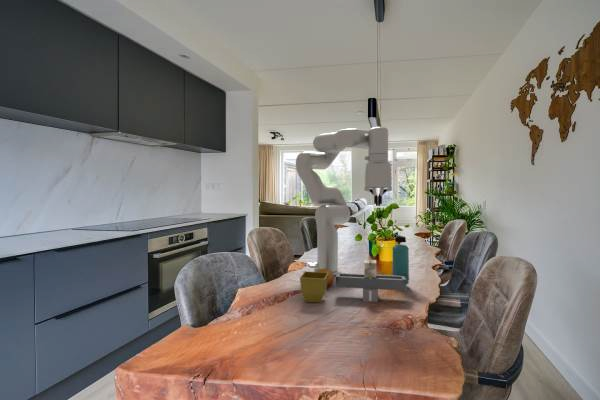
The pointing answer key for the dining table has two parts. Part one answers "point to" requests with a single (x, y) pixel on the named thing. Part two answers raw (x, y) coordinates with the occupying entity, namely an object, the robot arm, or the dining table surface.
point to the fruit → (330, 276)
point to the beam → (371, 284)
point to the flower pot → (313, 286)
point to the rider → (370, 268)
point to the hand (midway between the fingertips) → (377, 205)
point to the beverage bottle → (400, 259)
